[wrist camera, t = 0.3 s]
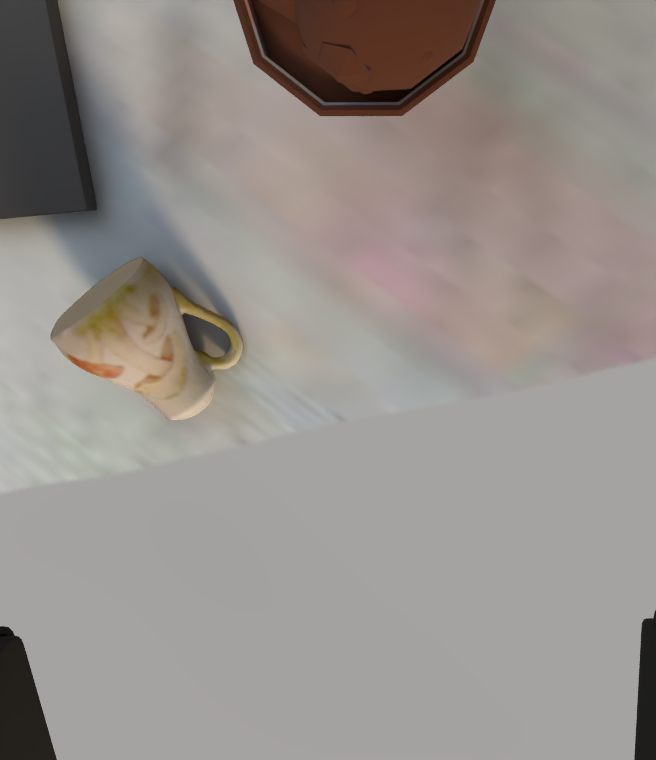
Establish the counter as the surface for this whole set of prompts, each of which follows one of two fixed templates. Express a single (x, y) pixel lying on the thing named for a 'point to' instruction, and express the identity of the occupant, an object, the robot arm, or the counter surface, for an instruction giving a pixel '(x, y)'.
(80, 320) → the mug
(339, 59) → the ice cream bowl
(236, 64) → the counter surface
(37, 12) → the scale
